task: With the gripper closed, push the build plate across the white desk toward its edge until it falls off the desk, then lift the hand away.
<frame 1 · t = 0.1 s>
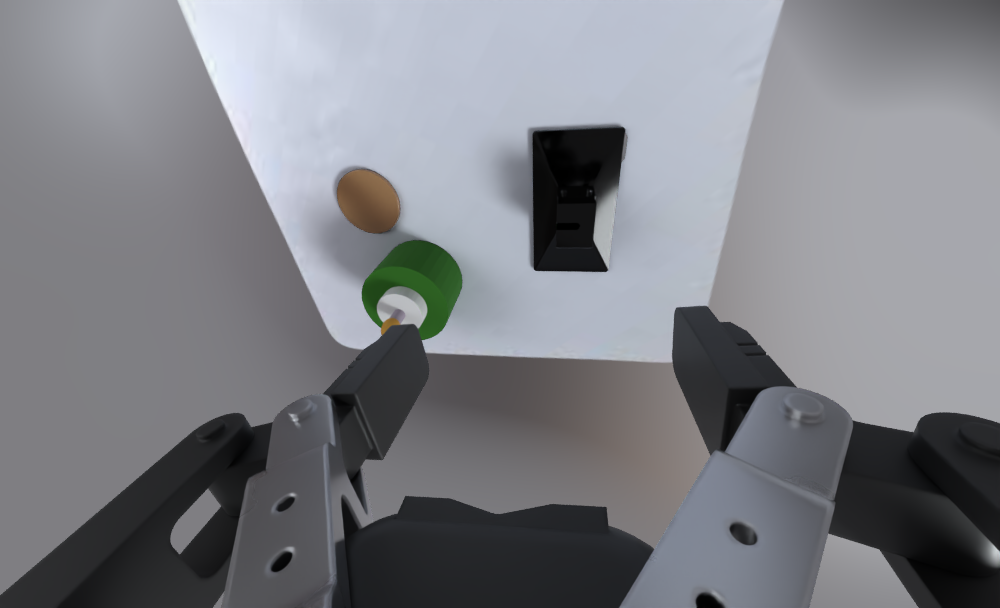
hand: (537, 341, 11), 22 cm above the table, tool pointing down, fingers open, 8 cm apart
coaster: (369, 202, 33), on the table
candle: (424, 275, 37), on the table
build plate: (573, 206, 31), on the table
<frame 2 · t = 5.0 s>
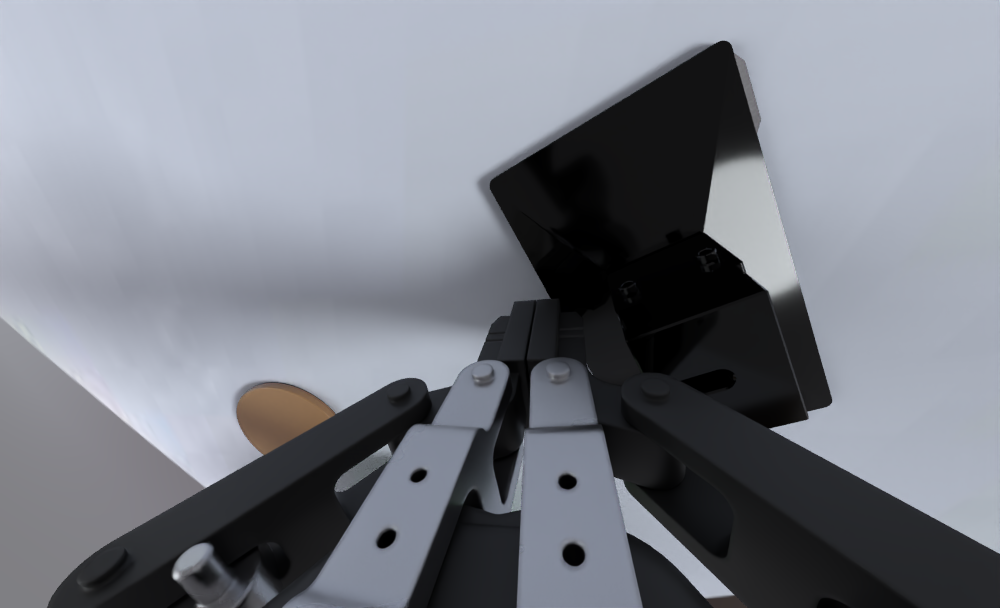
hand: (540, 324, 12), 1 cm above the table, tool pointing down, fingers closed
coaster: (295, 428, 19), on the table
build plate: (666, 294, 12), on the table, touching gripper
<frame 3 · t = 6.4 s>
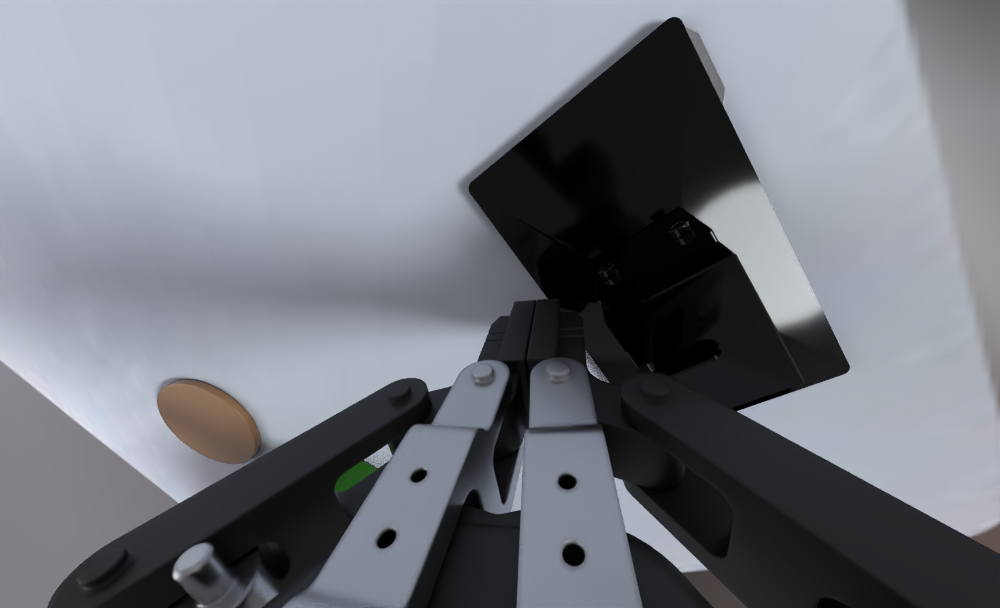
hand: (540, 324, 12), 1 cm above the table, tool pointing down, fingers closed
coaster: (212, 421, 20), on the table
candle: (348, 496, 21), on the table
build plate: (658, 274, 12), on the table, touching gripper
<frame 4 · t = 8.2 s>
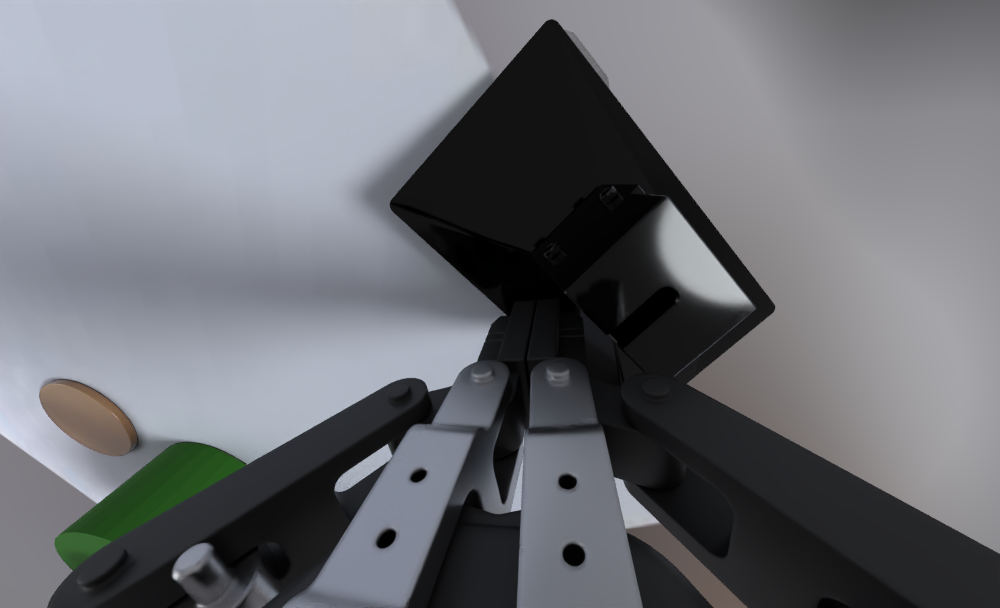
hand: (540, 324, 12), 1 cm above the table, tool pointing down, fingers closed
coaster: (93, 417, 22), on the table
candle: (223, 485, 24), on the table
build plate: (594, 258, 12), on the table, touching gripper
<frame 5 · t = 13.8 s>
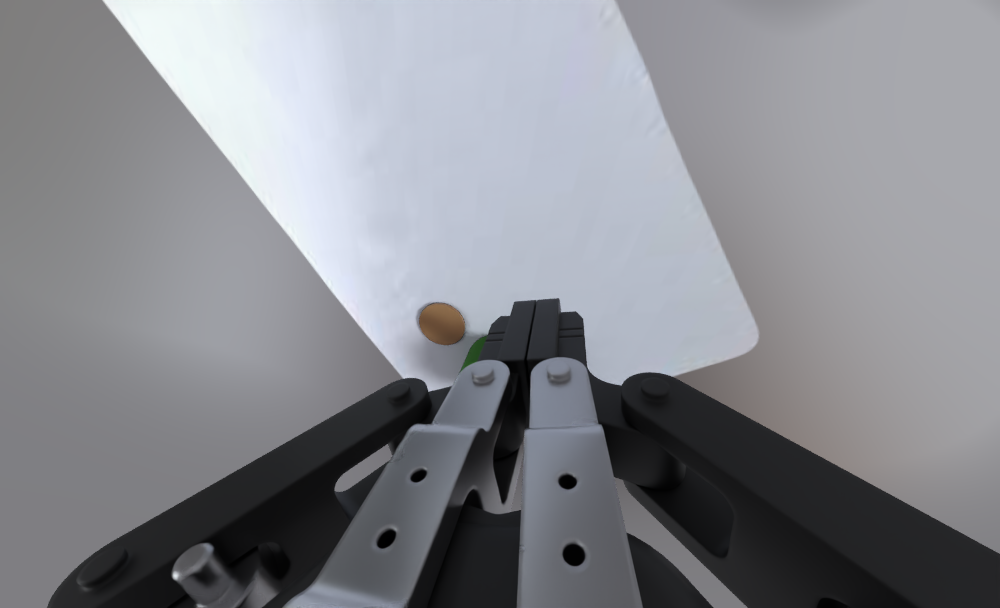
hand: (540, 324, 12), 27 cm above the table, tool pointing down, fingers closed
coaster: (442, 323, 45), on the table
candle: (499, 360, 47), on the table
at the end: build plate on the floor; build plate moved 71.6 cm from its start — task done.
